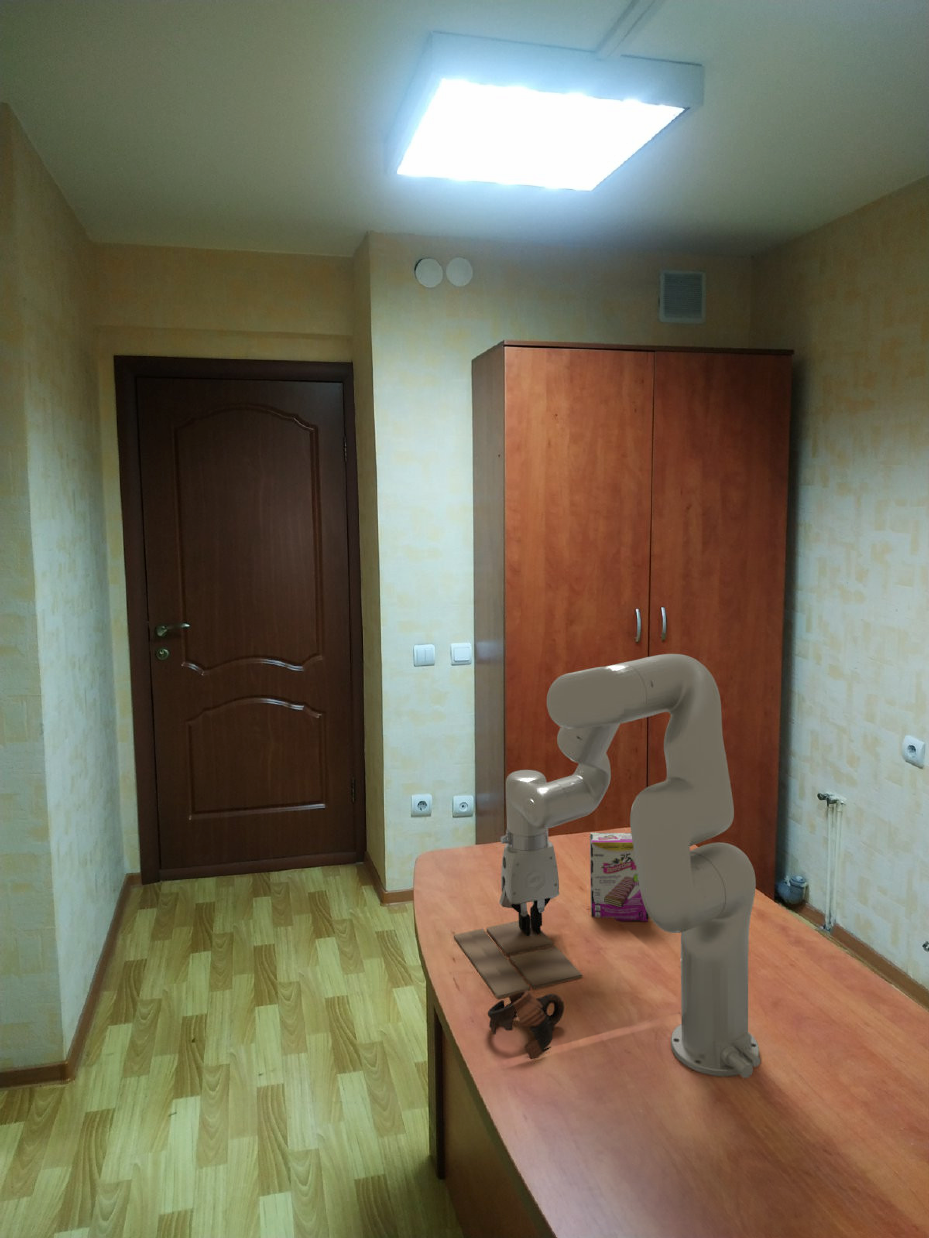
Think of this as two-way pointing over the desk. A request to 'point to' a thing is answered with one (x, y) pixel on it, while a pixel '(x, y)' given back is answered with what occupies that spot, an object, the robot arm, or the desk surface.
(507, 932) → the plank
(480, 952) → the laid strip
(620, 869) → the candy bar box
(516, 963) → the plank
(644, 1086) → the desk surface
